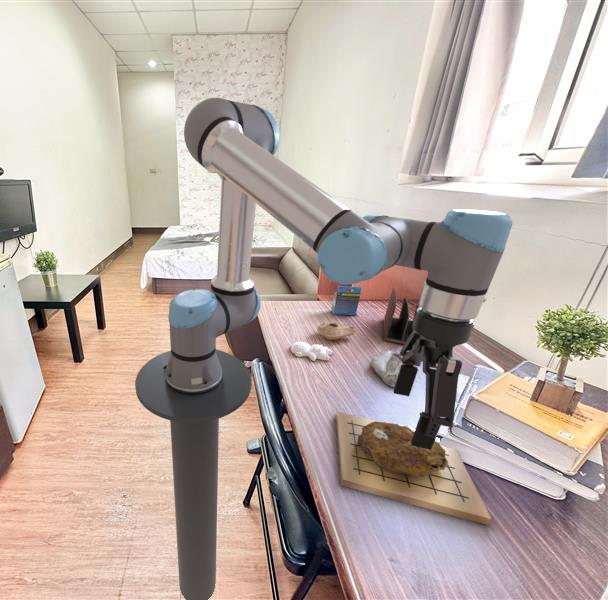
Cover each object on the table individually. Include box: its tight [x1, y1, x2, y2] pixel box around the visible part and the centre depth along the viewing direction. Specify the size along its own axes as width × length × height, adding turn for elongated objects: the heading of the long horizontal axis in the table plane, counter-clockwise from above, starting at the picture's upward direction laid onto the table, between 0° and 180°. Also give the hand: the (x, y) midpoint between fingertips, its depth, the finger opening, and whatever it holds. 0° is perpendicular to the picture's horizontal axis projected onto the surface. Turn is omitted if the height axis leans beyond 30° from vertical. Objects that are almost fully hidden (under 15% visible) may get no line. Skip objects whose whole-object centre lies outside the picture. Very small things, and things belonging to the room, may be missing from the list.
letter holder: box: [383, 287, 420, 345], centre depth 108 cm, size 10×20×14 cm, turn 152°
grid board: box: [335, 411, 493, 526], centre depth 60 cm, size 22×18×2 cm
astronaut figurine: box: [290, 341, 333, 362], centre depth 97 cm, size 9×12×3 cm
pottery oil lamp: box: [317, 321, 357, 341], centre depth 105 cm, size 9×12×7 cm
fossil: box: [370, 349, 415, 388], centre depth 88 cm, size 18×10×3 cm, turn 139°
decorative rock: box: [357, 421, 448, 477], centre depth 59 cm, size 11×4×15 cm
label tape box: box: [330, 285, 362, 316], centre depth 123 cm, size 9×4×12 cm, turn 83°
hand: (409, 417), depth 57 cm, fingers open, 13 cm apart
